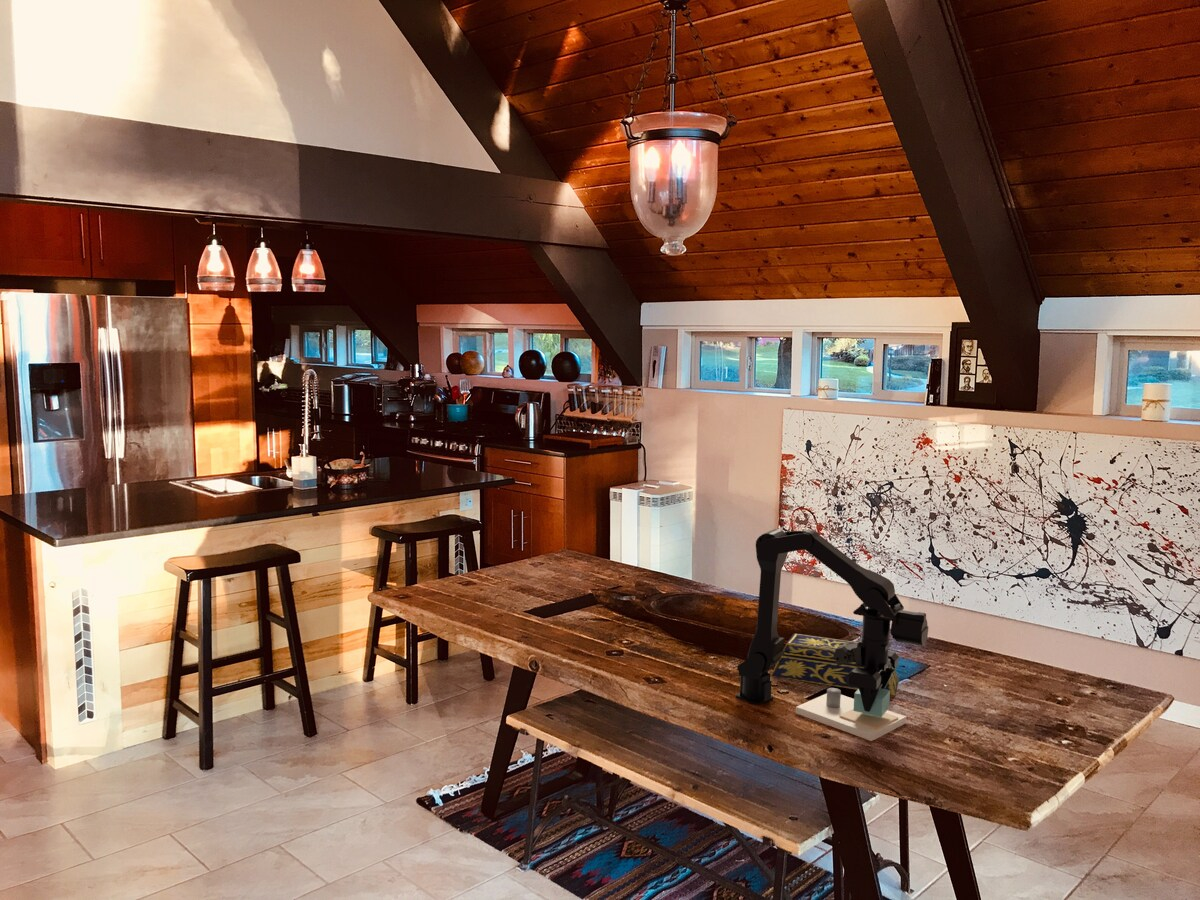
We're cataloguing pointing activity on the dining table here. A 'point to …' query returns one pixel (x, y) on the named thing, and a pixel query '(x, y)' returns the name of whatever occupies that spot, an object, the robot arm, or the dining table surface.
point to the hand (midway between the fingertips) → (871, 706)
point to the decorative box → (819, 662)
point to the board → (849, 716)
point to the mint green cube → (879, 704)
